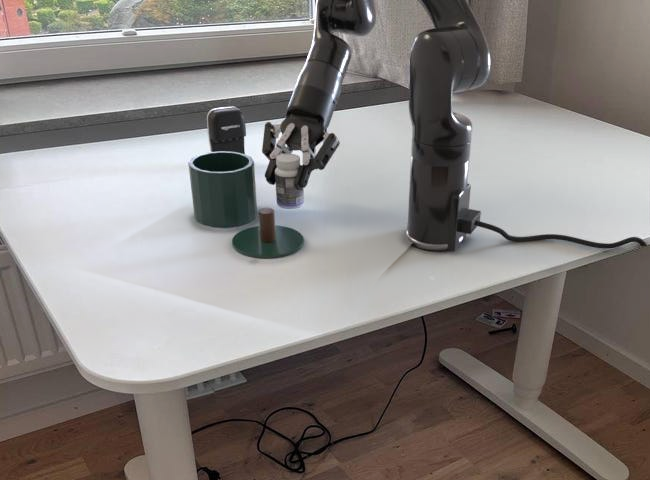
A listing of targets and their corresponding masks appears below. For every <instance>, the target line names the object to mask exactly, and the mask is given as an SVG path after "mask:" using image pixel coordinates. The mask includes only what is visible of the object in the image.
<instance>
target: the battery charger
mask: <svg viewBox="0 0 650 480" xmlns="http://www.w3.org/2000/svg"><path fill="white" fill-rule="evenodd" d="M206 127H207V137H208V145H209V150H210V151H209V152H218V151H229V152H238V153H243V154H246V151H245V137H246V136H247V129H246V127H247V126H246V118H245V115H244V113H243V112H242V110H241V109H239V108H238V107H236V106H223V107H216V108H212V109H210V110H209V111H208V112H207V114H206Z"/></svg>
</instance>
